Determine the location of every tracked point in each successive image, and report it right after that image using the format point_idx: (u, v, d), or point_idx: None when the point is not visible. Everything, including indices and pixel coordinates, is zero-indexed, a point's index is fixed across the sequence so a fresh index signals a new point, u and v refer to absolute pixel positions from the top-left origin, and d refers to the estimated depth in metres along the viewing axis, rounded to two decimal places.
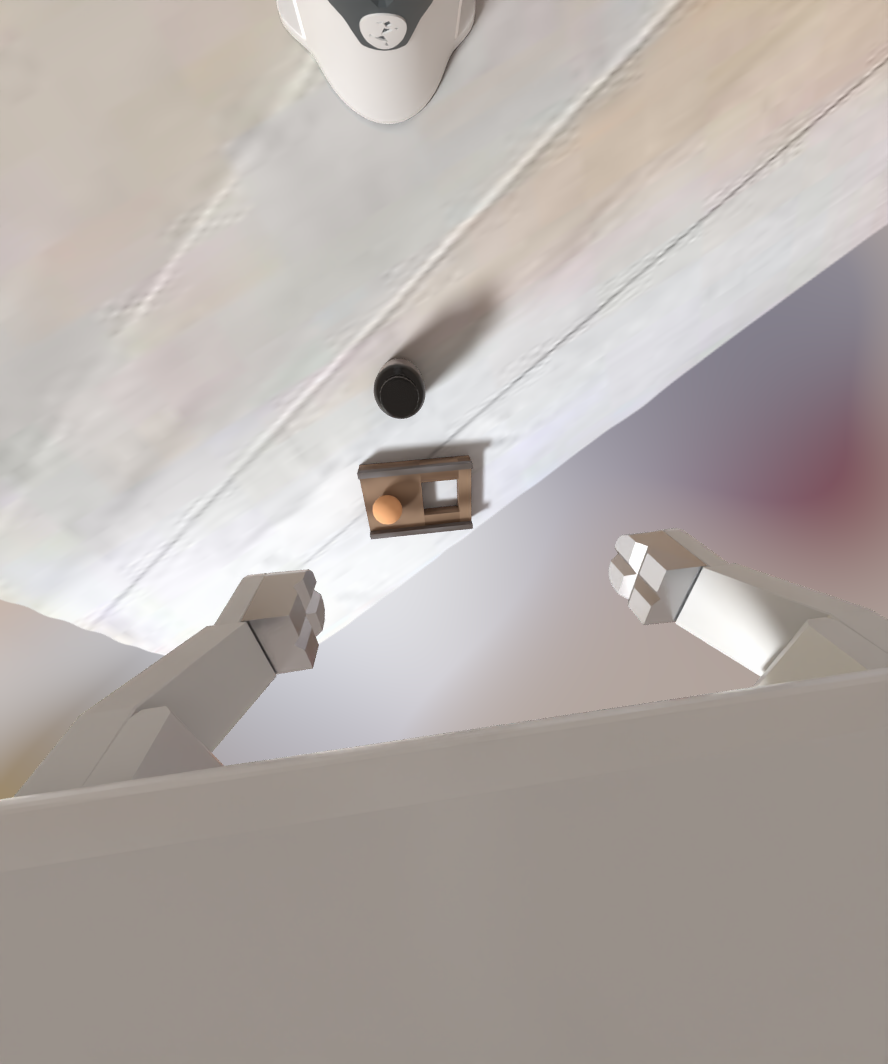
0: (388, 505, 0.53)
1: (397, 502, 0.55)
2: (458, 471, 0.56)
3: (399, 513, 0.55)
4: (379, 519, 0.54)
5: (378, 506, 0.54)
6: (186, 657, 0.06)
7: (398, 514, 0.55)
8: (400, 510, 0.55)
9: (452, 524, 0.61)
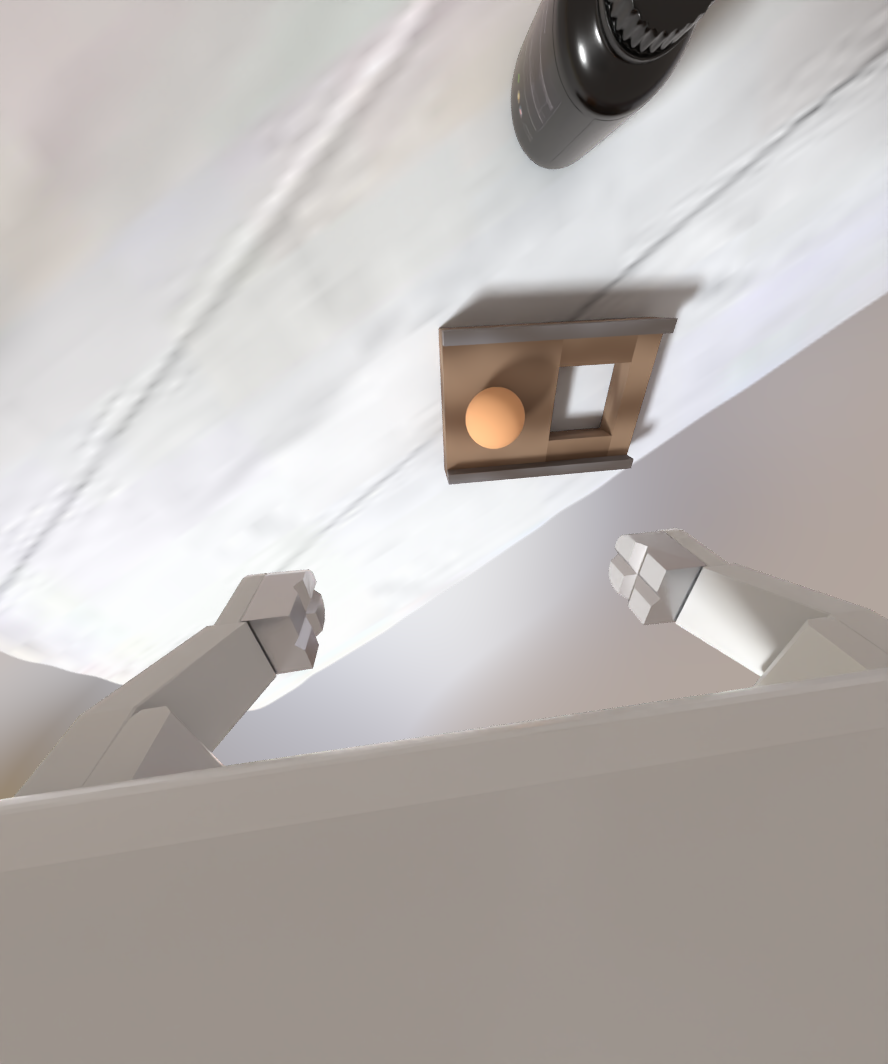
0: (506, 403, 0.25)
1: (520, 400, 0.27)
2: (636, 343, 0.28)
3: (522, 423, 0.27)
4: (483, 434, 0.27)
5: (485, 404, 0.26)
6: (186, 657, 0.06)
7: (521, 425, 0.27)
8: (524, 418, 0.27)
9: (595, 459, 0.33)
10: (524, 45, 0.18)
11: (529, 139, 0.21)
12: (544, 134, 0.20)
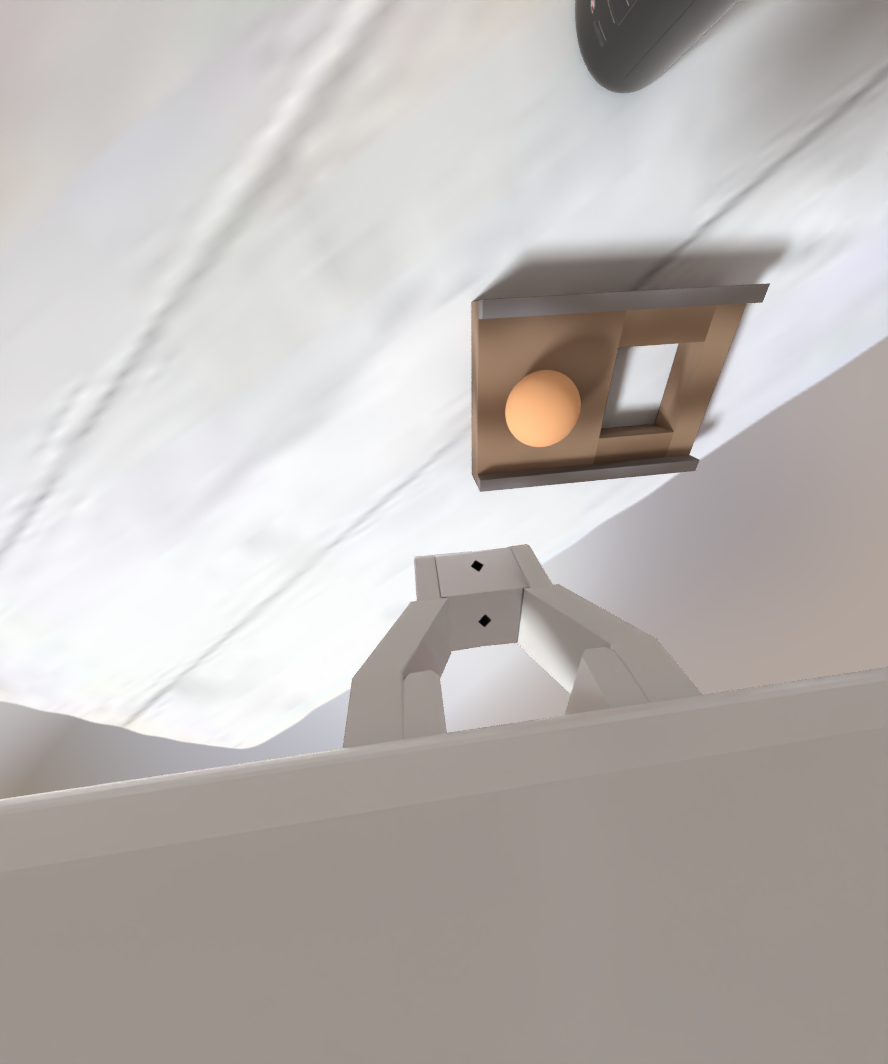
0: (562, 387, 0.20)
1: (575, 386, 0.21)
2: (712, 318, 0.23)
3: (578, 415, 0.22)
4: (531, 428, 0.21)
5: (535, 390, 0.20)
6: (415, 628, 0.06)
7: (577, 416, 0.22)
8: None
9: (652, 461, 0.28)
10: None
11: (600, 44, 0.16)
12: (627, 26, 0.15)
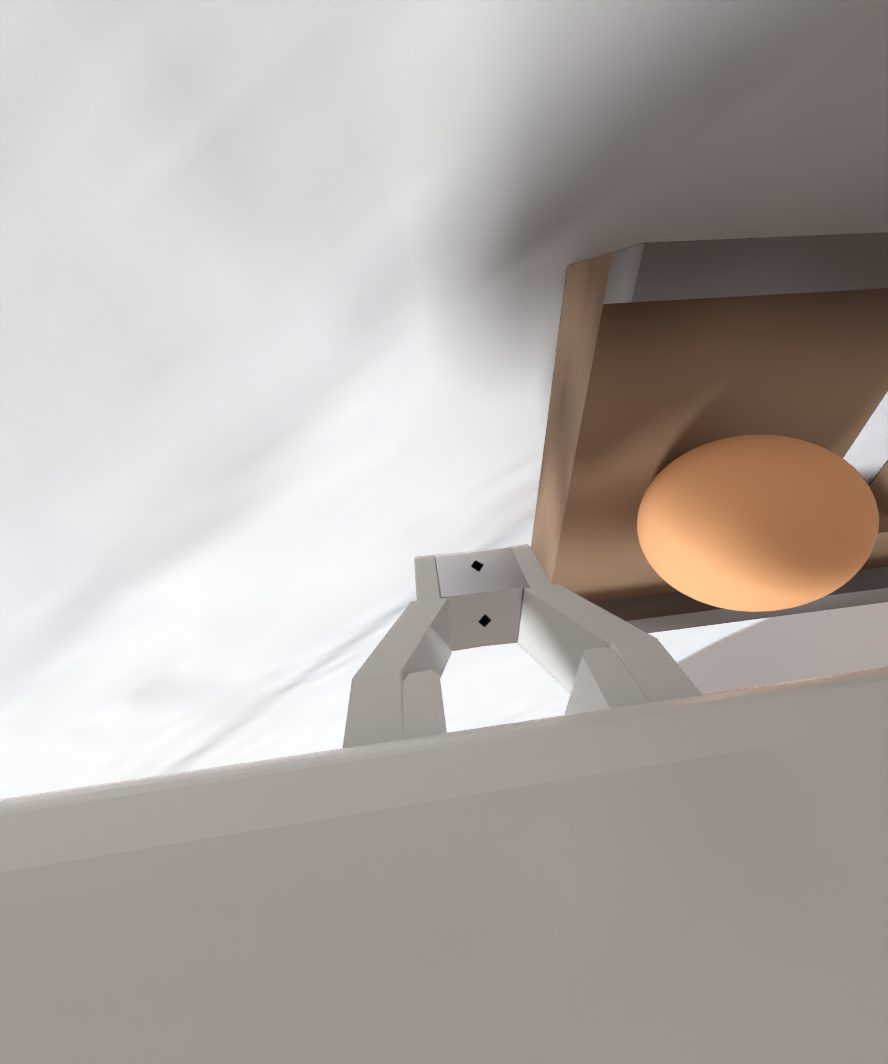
0: (859, 499, 0.07)
1: None
2: None
3: None
4: (742, 591, 0.08)
5: (777, 503, 0.07)
6: (415, 628, 0.06)
7: None
8: None
9: (872, 577, 0.15)
10: None
11: None
12: None
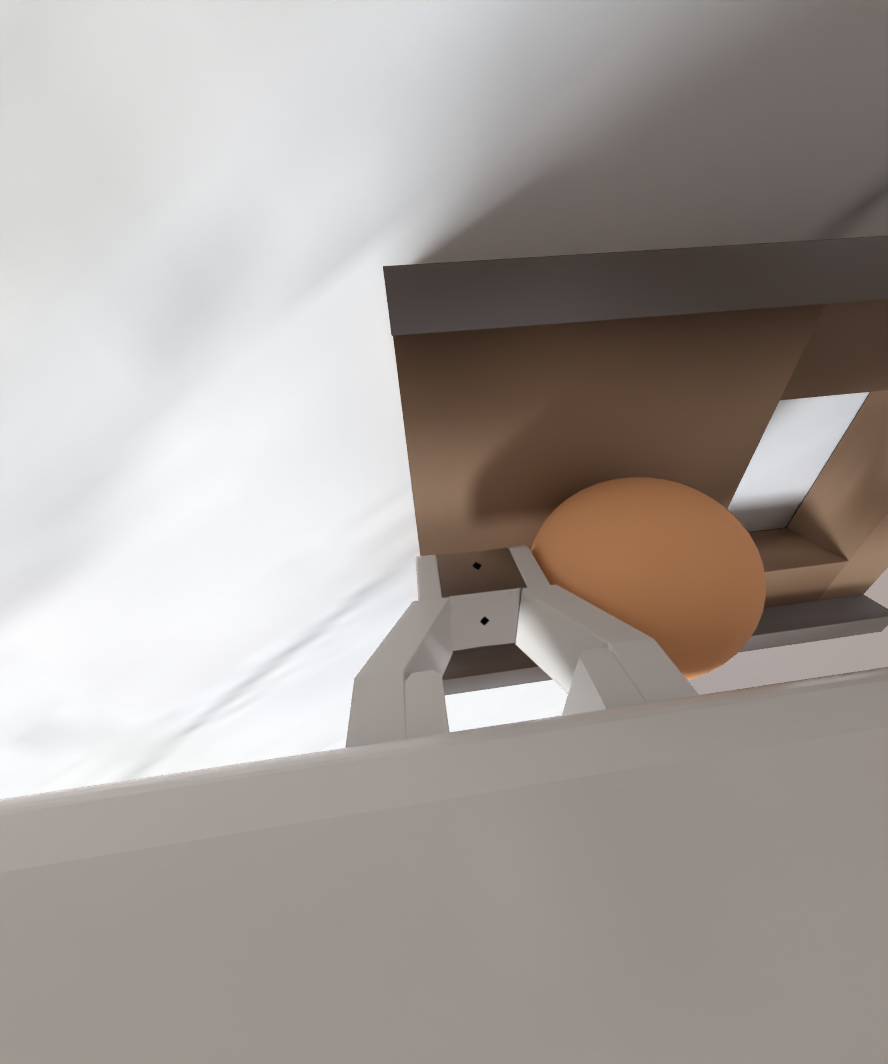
0: (753, 551, 0.06)
1: None
2: None
3: None
4: None
5: (697, 582, 0.06)
6: (417, 628, 0.06)
7: None
8: None
9: (797, 614, 0.14)
10: None
11: None
12: None
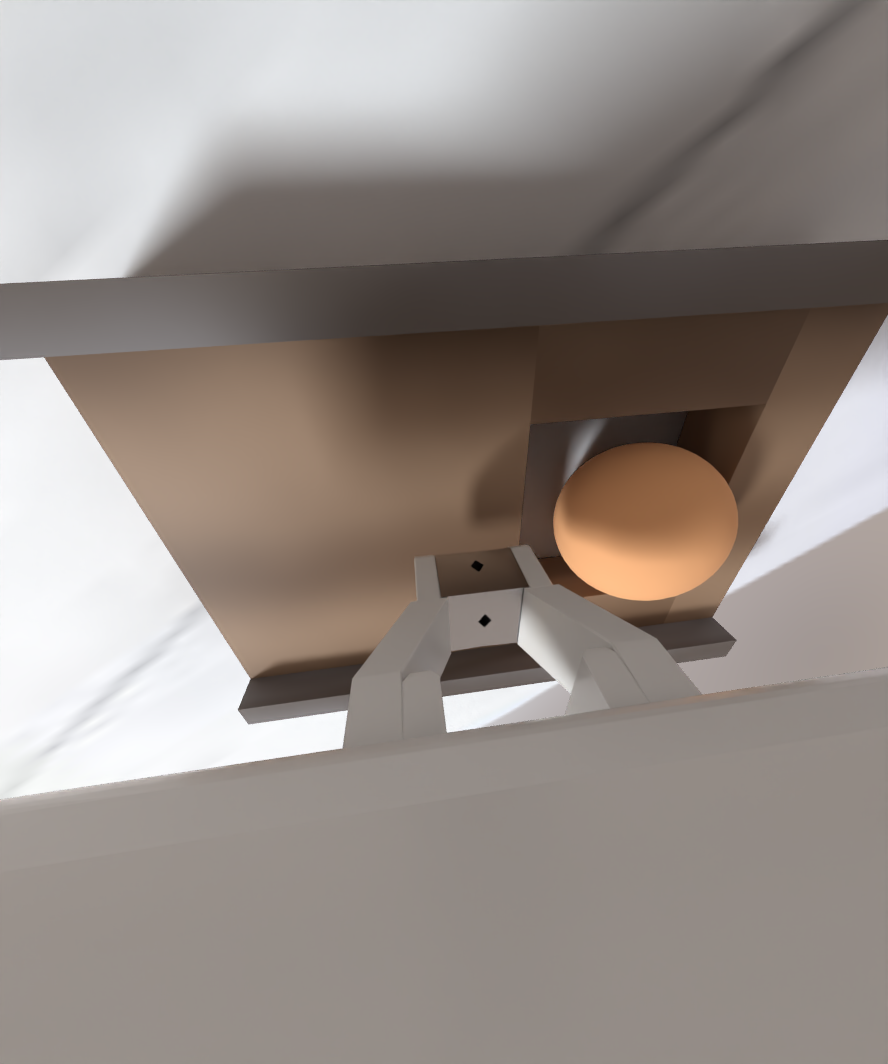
0: (587, 482, 0.10)
1: (655, 509, 0.08)
2: (794, 344, 0.08)
3: (611, 565, 0.09)
4: None
5: None
6: (415, 628, 0.06)
7: (600, 563, 0.09)
8: (631, 560, 0.09)
9: None
10: None
11: None
12: None
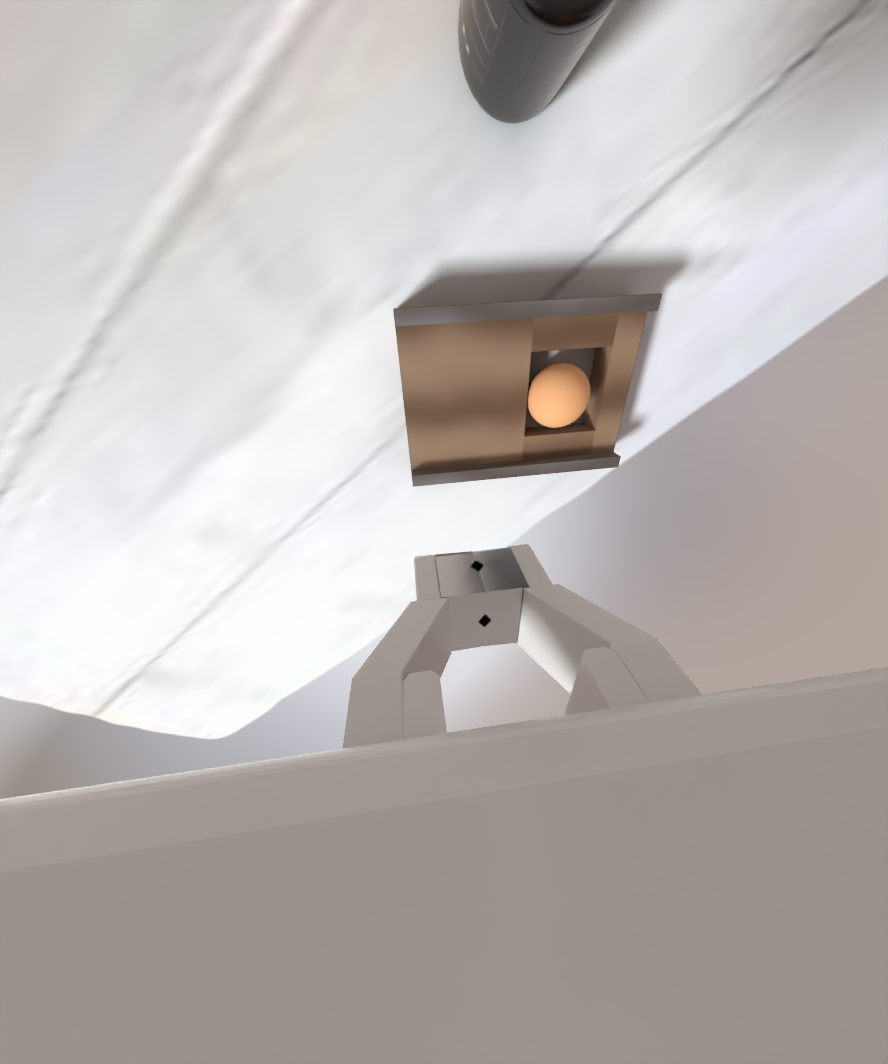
0: (536, 375, 0.27)
1: (545, 379, 0.25)
2: (616, 325, 0.25)
3: (533, 402, 0.27)
4: None
5: None
6: (415, 628, 0.06)
7: (531, 402, 0.27)
8: (537, 398, 0.26)
9: (577, 457, 0.30)
10: None
11: (479, 82, 0.18)
12: (494, 70, 0.17)
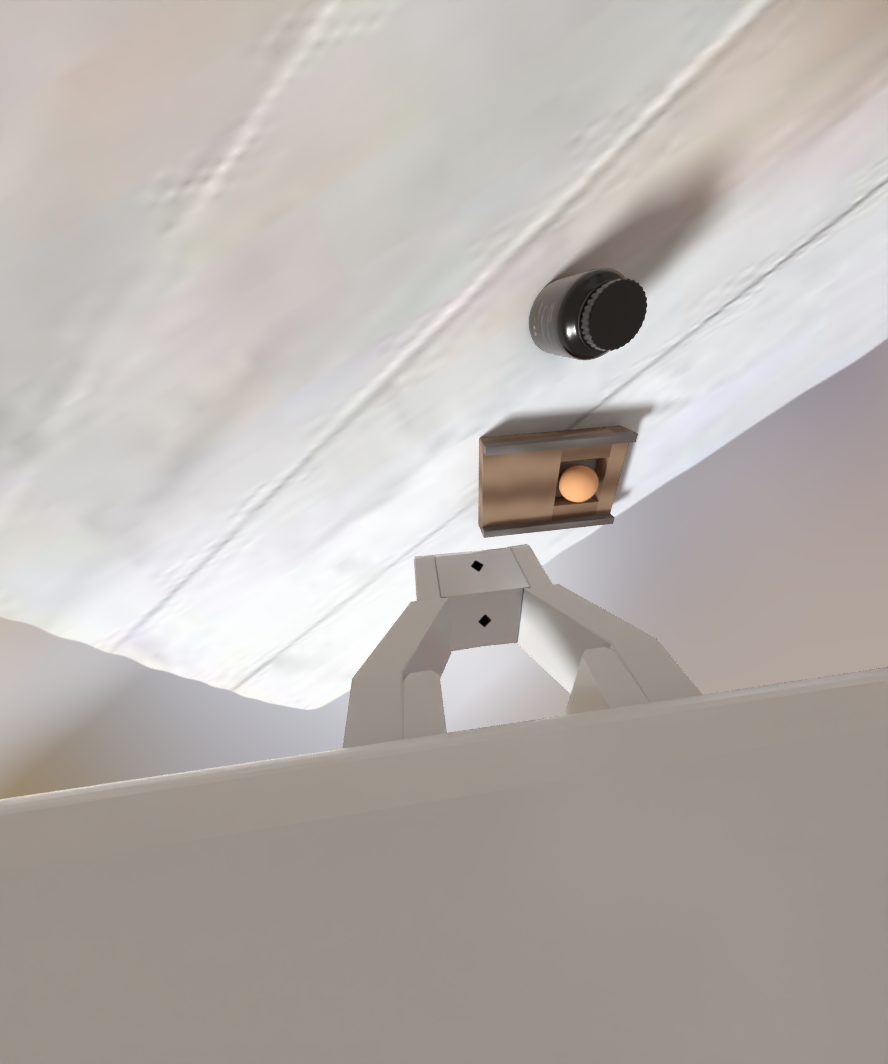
0: (565, 472, 0.44)
1: (573, 478, 0.42)
2: (611, 446, 0.42)
3: (565, 489, 0.43)
4: None
5: None
6: (415, 628, 0.06)
7: (563, 489, 0.44)
8: (568, 488, 0.43)
9: (587, 518, 0.47)
10: (537, 307, 0.33)
11: (540, 345, 0.35)
12: (549, 350, 0.34)
